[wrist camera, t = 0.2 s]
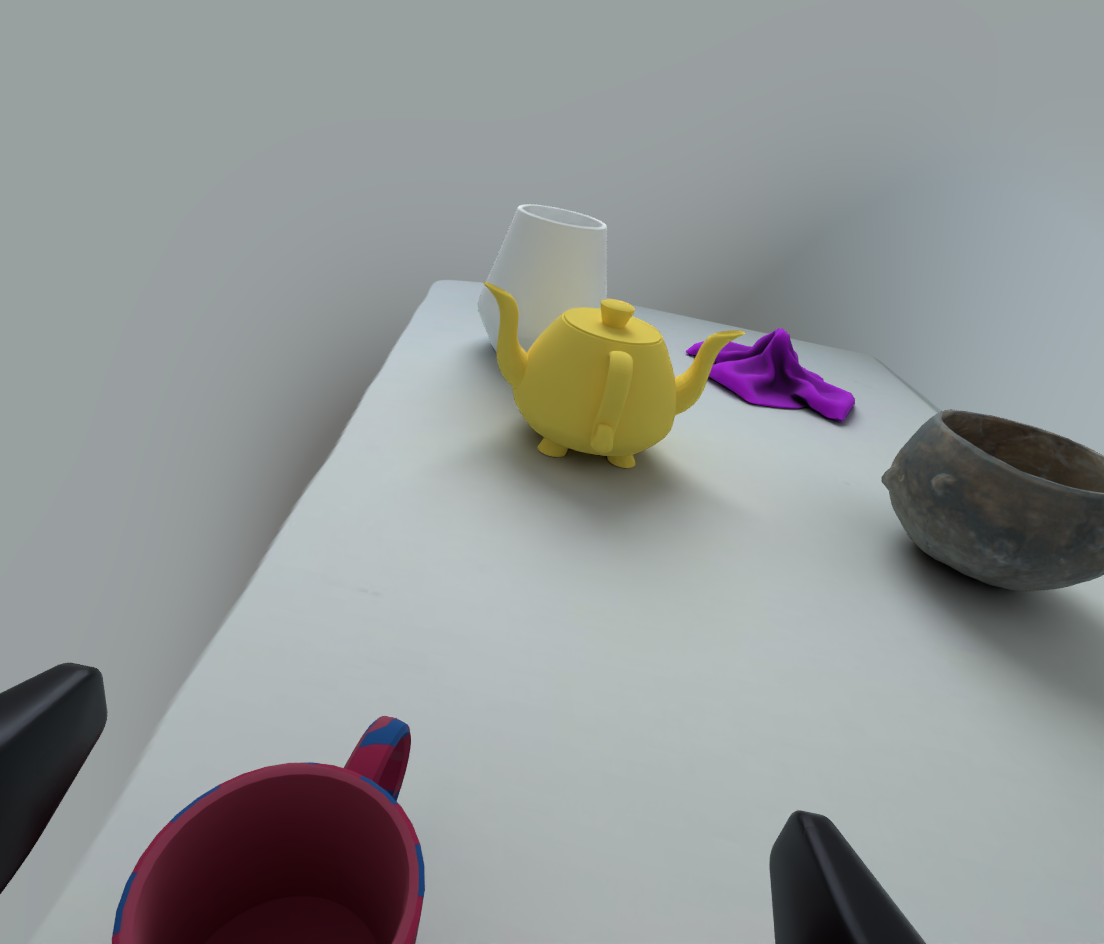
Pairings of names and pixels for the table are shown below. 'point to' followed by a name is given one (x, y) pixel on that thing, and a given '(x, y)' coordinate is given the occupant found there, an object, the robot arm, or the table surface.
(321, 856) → the cup
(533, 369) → the teapot
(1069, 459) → the bowl
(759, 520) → the table surface
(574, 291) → the cup
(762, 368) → the cloth
